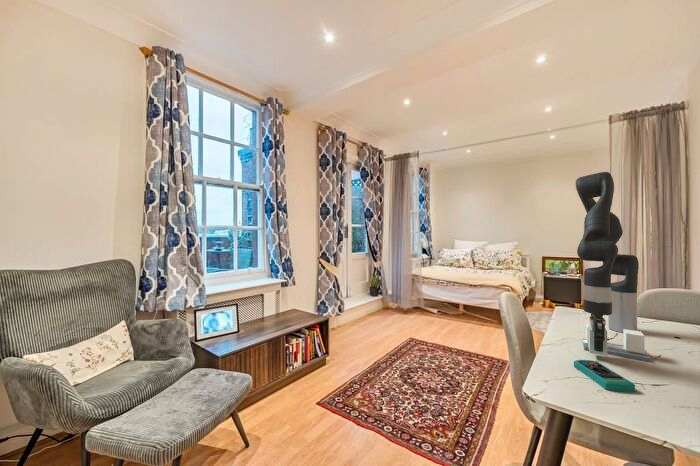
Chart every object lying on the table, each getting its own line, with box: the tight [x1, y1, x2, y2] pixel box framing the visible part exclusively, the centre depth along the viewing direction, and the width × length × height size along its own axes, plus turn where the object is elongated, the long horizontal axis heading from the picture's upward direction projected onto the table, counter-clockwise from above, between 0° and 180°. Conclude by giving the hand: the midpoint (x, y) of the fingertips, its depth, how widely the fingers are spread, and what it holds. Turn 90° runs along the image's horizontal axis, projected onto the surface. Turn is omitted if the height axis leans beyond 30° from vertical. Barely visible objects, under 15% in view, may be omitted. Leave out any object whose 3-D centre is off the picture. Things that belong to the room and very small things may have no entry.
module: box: [588, 325, 608, 357], centre depth 99 cm, size 6×4×8 cm
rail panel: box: [582, 323, 651, 363], centre depth 105 cm, size 10×17×8 cm, turn 54°
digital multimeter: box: [573, 359, 636, 393], centre depth 86 cm, size 7×15×3 cm, turn 173°
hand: (597, 347), depth 99 cm, fingers closed on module, 5 cm apart
